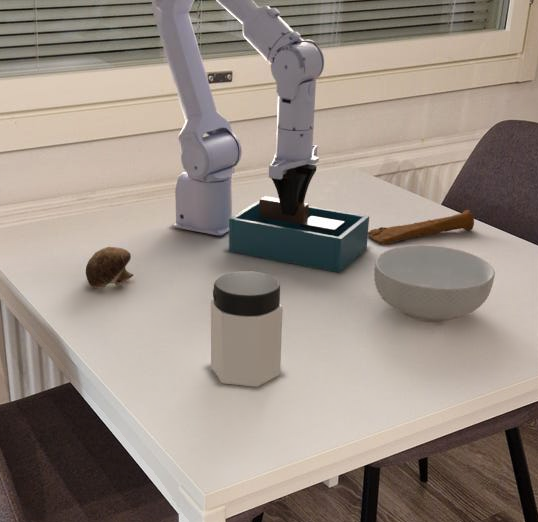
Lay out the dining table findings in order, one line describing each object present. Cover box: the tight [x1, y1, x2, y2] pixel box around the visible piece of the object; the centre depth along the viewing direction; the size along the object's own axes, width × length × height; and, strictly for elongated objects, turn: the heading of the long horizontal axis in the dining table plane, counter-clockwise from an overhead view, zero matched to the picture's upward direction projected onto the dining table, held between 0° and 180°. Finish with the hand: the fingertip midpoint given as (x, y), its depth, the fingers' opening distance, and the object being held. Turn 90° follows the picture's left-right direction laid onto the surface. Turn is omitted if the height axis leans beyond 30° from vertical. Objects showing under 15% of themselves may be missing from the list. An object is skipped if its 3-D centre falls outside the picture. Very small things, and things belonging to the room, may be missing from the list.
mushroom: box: [85, 246, 134, 289], centre depth 144 cm, size 8×8×6 cm
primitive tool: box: [368, 209, 475, 245], centre depth 167 cm, size 19×6×4 cm, turn 112°
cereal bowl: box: [373, 244, 496, 323], centre depth 138 cm, size 17×17×7 cm
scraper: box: [259, 195, 345, 233], centre depth 157 cm, size 14×5×3 cm, turn 64°
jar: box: [210, 270, 284, 388], centre depth 119 cm, size 9×8×12 cm
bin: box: [228, 199, 370, 273], centre depth 159 cm, size 20×13×6 cm, turn 64°
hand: (291, 212), depth 157 cm, fingers closed on scraper, 2 cm apart
